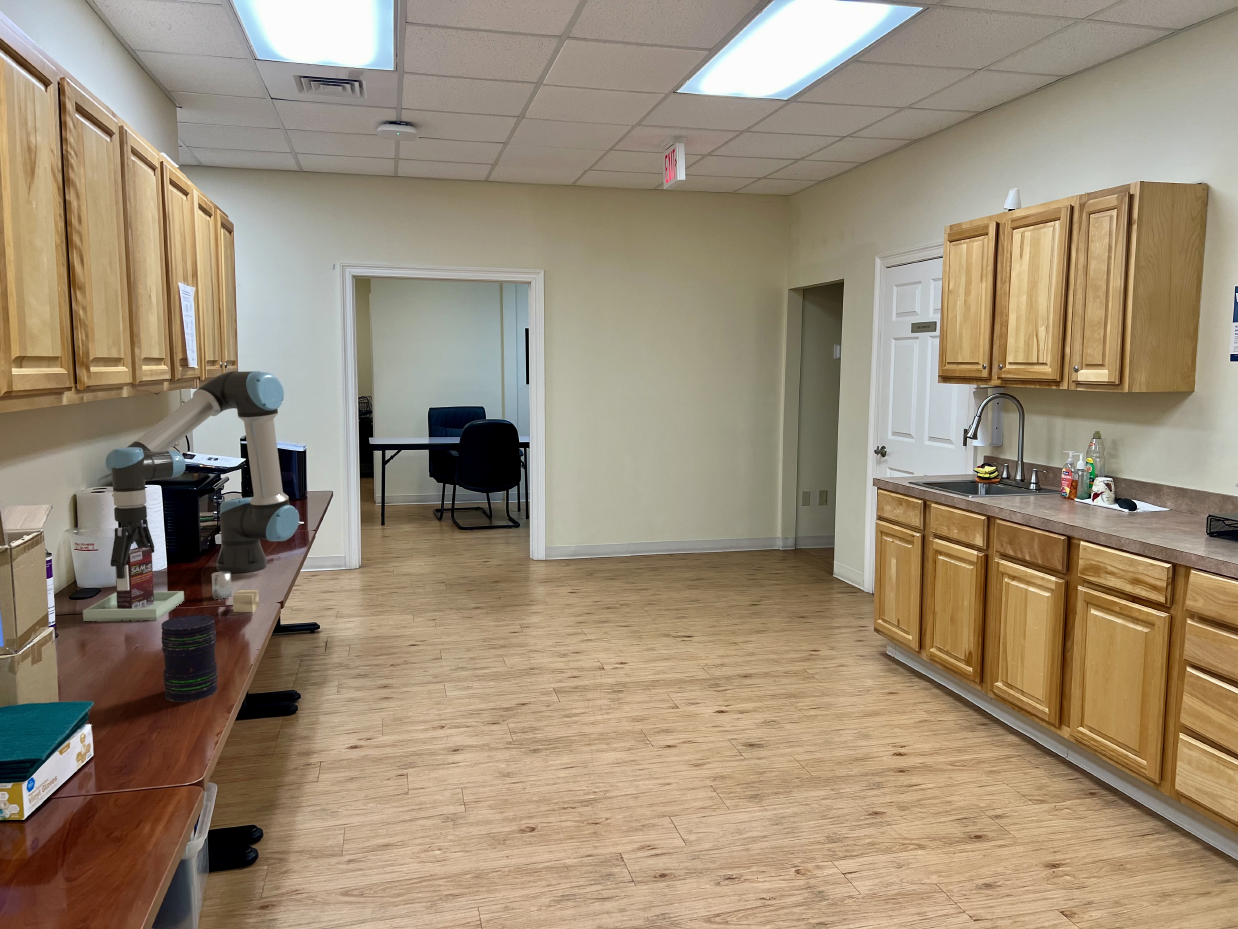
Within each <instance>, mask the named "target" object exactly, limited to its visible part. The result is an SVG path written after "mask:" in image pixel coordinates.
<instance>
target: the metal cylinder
mask: <svg viewBox="0 0 1238 929" xmlns="http://www.w3.org/2000/svg"><path fill="white" fill-rule="evenodd" d="M211 586H212V587H211V588H212V589H211V590H212V599H213V598H214V599H213V600H216V599H221V600H224V599H223V598H228V599H230V598H229V597H231V596H232V597H233V593H232V591H233V590H232V588H233V587H232V573H231V572H228V571H222V572H219V571H217V572H213V573H211ZM232 597H231V598H232Z"/></svg>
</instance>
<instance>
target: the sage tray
mask: <svg viewBox="0 0 1238 929" xmlns="http://www.w3.org/2000/svg"><path fill="white" fill-rule="evenodd" d="M184 593H185V592H184V590H180V591H179V590H175V591H172V590H171V591H169V590H167V591H165V590H164V591H154V604H153V605H150V606H147V607H145V608H142V609H117V593H116V592H113V593H112V594H110V595H108V596H107V597H105V598H103V599H101V600H99V601H98V602H96V603H94V604H92V605H90V606H89V607H87V608H85V609H83V610H82V617H83V618H82V619H83V622H84V621H93V622H94V621H97V623H98V622H136V621H137V620H139V621H138V622H140V621H142V622H143V620H148V621H158V620H159V619H161V618H162V617H164V616H166V614H168V613H169V612H171V611H172V610H174V609H175V608H177V607H178V606H179V604H180V605H181V604H183V603H184V602H185V594H184ZM183 601H184V602H183ZM182 602H183V603H182ZM176 606H177V607H176ZM121 620H123V621H121ZM129 620H131V621H129ZM94 623H95V622H94Z"/></svg>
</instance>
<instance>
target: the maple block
mask: <svg viewBox="0 0 1238 929" xmlns="http://www.w3.org/2000/svg"><path fill="white" fill-rule="evenodd" d="M232 602H233V603H232V604H233V605H232V608H233V613H234V612H253V613H254V612H256V611H257V610H258V609H259V608H260V604H259V590H258V589H252V590H248V589H246V590H245V589H244V590H243V589H241V590H238V591H236V592H235V593H233V594H232ZM258 607H259V608H258ZM257 608H258V609H257ZM256 609H257V610H256Z"/></svg>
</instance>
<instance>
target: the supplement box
mask: <svg viewBox="0 0 1238 929" xmlns="http://www.w3.org/2000/svg"><path fill="white" fill-rule="evenodd" d="M126 565H128V575H129V590H118V591H117V580H116V579H115V586H116V587H115V588H116V589H115V590H116V592H115V593H117V609H142V608H145V607H147V606H150V605H153V604H154V592H155V591H154V574H153V573H154V572H153V553H152V548H144V547H138V546H136V547H134V548H130V552H129V555H128V559H127V562H126ZM114 567H115V568H116V566H114Z"/></svg>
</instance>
